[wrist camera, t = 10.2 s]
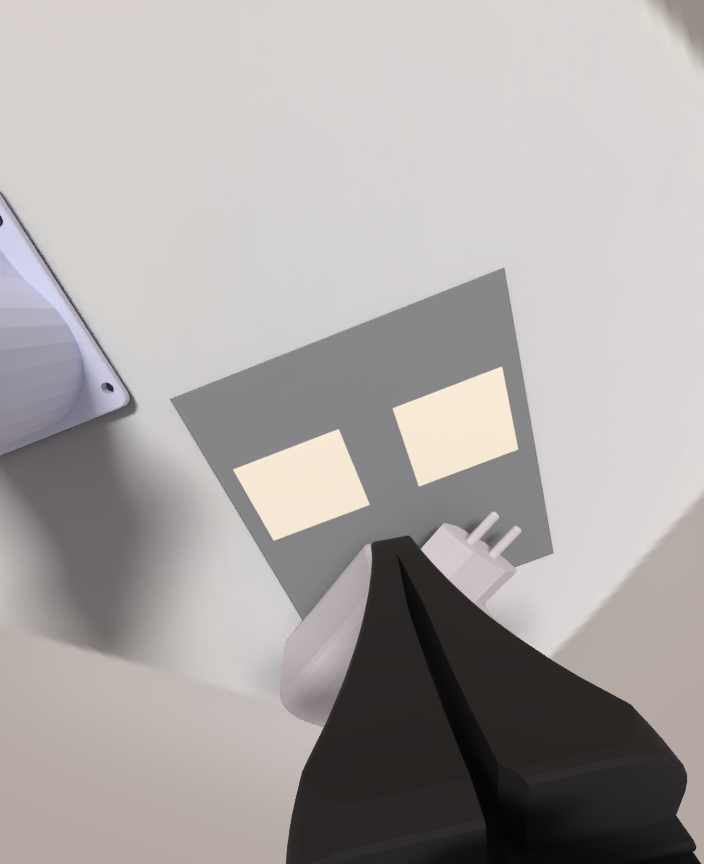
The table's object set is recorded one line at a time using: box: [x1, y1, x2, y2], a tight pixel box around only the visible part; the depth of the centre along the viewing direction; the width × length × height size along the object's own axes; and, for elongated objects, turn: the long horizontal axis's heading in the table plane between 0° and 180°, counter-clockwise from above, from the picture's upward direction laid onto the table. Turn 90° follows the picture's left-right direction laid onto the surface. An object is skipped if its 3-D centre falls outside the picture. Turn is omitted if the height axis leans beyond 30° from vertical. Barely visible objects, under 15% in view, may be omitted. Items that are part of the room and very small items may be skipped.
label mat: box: [170, 268, 553, 620], centre depth 19 cm, size 18×17×1 cm
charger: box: [280, 511, 521, 727], centre depth 19 cm, size 5×9×15 cm
